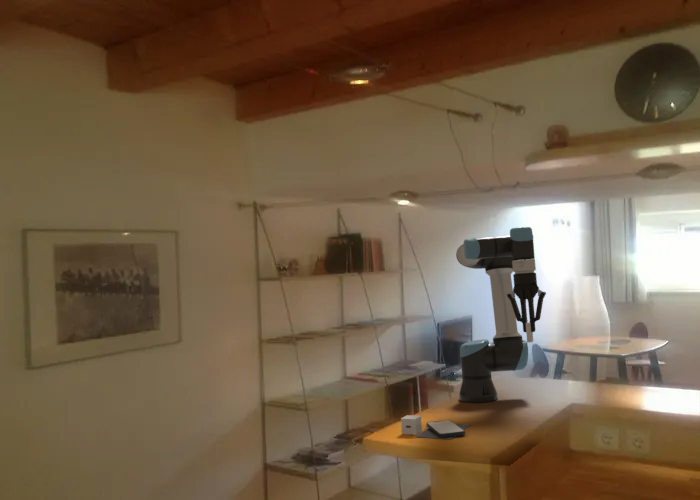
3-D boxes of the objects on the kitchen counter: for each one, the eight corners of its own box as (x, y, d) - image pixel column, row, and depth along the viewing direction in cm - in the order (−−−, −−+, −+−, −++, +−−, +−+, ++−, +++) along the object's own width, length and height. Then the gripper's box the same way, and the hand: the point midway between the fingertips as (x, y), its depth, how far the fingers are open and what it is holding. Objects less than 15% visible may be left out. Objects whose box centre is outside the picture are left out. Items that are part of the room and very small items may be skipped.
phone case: (466, 436, 200) (450, 424, 216) (466, 431, 200) (450, 419, 216) (439, 439, 199) (425, 427, 215) (439, 434, 199) (425, 422, 215)
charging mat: (436, 423, 220) (436, 422, 220) (470, 424, 214) (469, 424, 214) (415, 437, 203) (415, 436, 203) (451, 439, 198) (451, 438, 198)
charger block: (408, 430, 213) (406, 415, 213) (421, 431, 211) (420, 415, 211) (401, 434, 209) (400, 418, 209) (416, 434, 206) (414, 419, 206)
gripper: (502, 274, 216) (508, 343, 215) (541, 271, 210) (547, 342, 209) (508, 273, 223) (513, 340, 222) (546, 270, 217) (552, 340, 216)
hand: (530, 341), depth 215 cm, fingers closed
